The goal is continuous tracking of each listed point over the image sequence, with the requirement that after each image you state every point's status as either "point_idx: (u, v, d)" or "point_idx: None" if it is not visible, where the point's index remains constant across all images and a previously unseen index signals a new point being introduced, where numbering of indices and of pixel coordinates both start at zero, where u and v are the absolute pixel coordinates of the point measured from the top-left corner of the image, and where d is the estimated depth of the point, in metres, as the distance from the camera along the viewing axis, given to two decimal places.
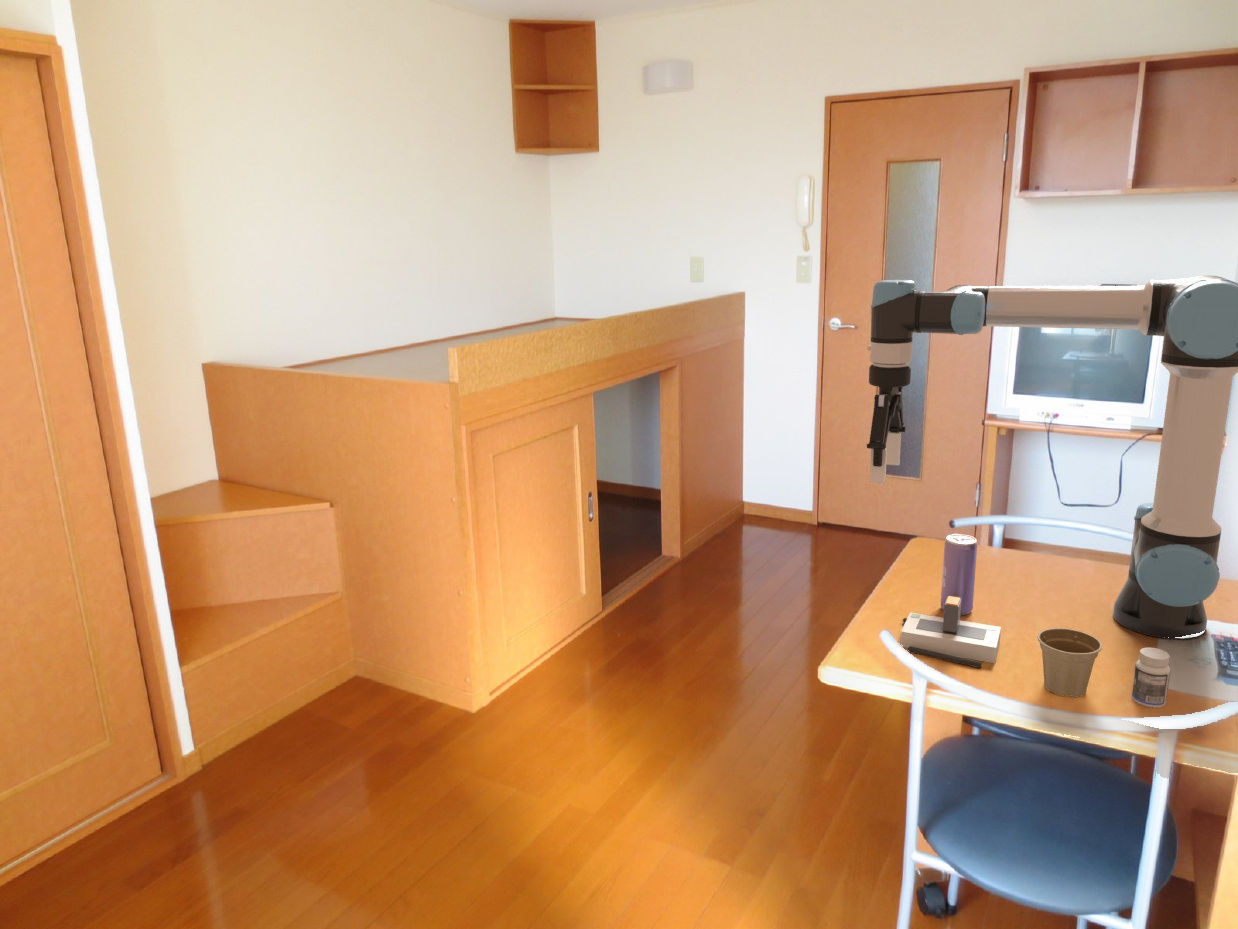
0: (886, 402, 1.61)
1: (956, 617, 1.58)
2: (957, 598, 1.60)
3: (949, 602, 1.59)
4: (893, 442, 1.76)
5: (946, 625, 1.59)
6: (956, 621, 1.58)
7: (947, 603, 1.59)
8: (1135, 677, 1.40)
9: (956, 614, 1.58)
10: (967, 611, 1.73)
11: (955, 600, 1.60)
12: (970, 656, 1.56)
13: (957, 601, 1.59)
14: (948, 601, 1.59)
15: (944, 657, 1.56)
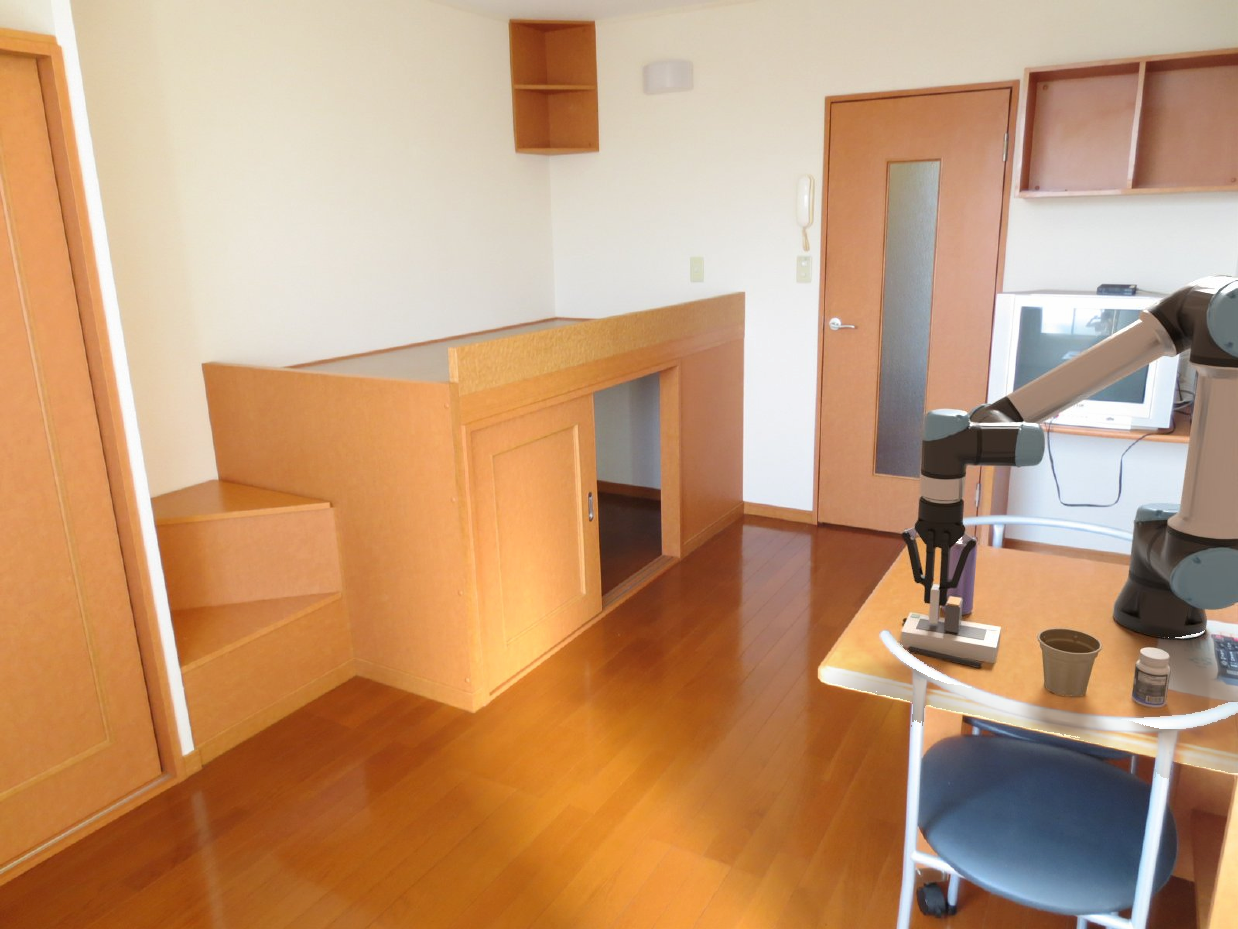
0: (904, 539, 1.60)
1: (957, 617, 1.58)
2: (958, 598, 1.60)
3: (950, 602, 1.59)
4: None
5: (947, 625, 1.59)
6: (957, 621, 1.58)
7: (948, 603, 1.58)
8: (1135, 677, 1.40)
9: (957, 614, 1.58)
10: (967, 611, 1.73)
11: (956, 600, 1.60)
12: (970, 656, 1.56)
13: (958, 601, 1.59)
14: (949, 601, 1.59)
15: (944, 657, 1.56)
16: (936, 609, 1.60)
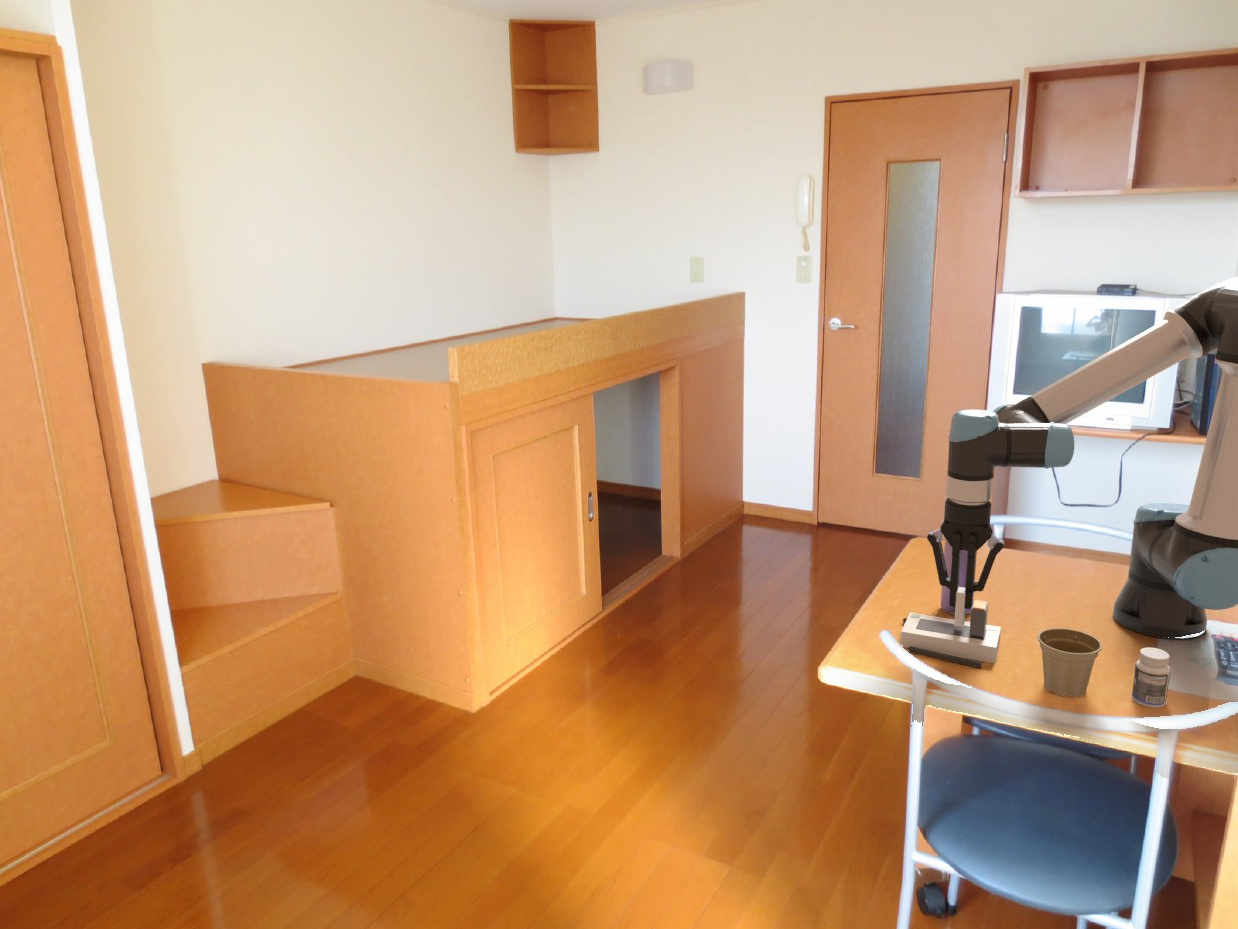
0: (929, 541, 1.58)
1: (983, 621, 1.56)
2: (984, 602, 1.58)
3: (976, 606, 1.57)
4: None
5: (973, 629, 1.57)
6: (983, 625, 1.56)
7: (974, 607, 1.57)
8: (1135, 677, 1.40)
9: (983, 618, 1.56)
10: (967, 611, 1.73)
11: (982, 604, 1.58)
12: (970, 656, 1.56)
13: (984, 605, 1.57)
14: (975, 605, 1.57)
15: (944, 657, 1.56)
16: (962, 612, 1.58)
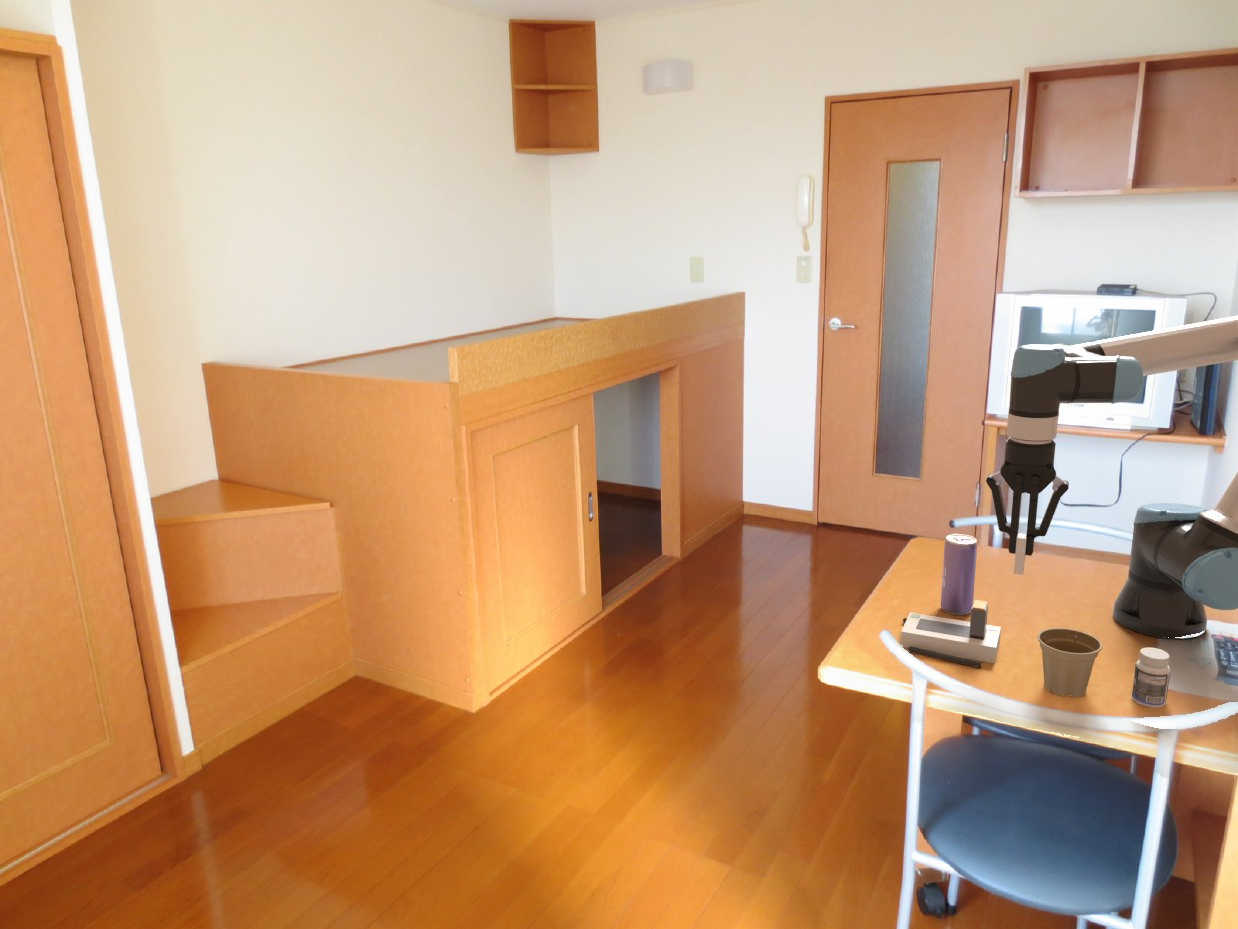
0: (988, 485, 1.51)
1: (983, 621, 1.56)
2: (984, 602, 1.58)
3: (976, 606, 1.57)
4: None
5: (973, 629, 1.57)
6: (983, 625, 1.56)
7: (974, 607, 1.57)
8: (1135, 677, 1.40)
9: (983, 618, 1.56)
10: (967, 611, 1.73)
11: (982, 604, 1.58)
12: (970, 656, 1.56)
13: (984, 605, 1.57)
14: (975, 605, 1.57)
15: (944, 657, 1.56)
16: (1022, 559, 1.51)
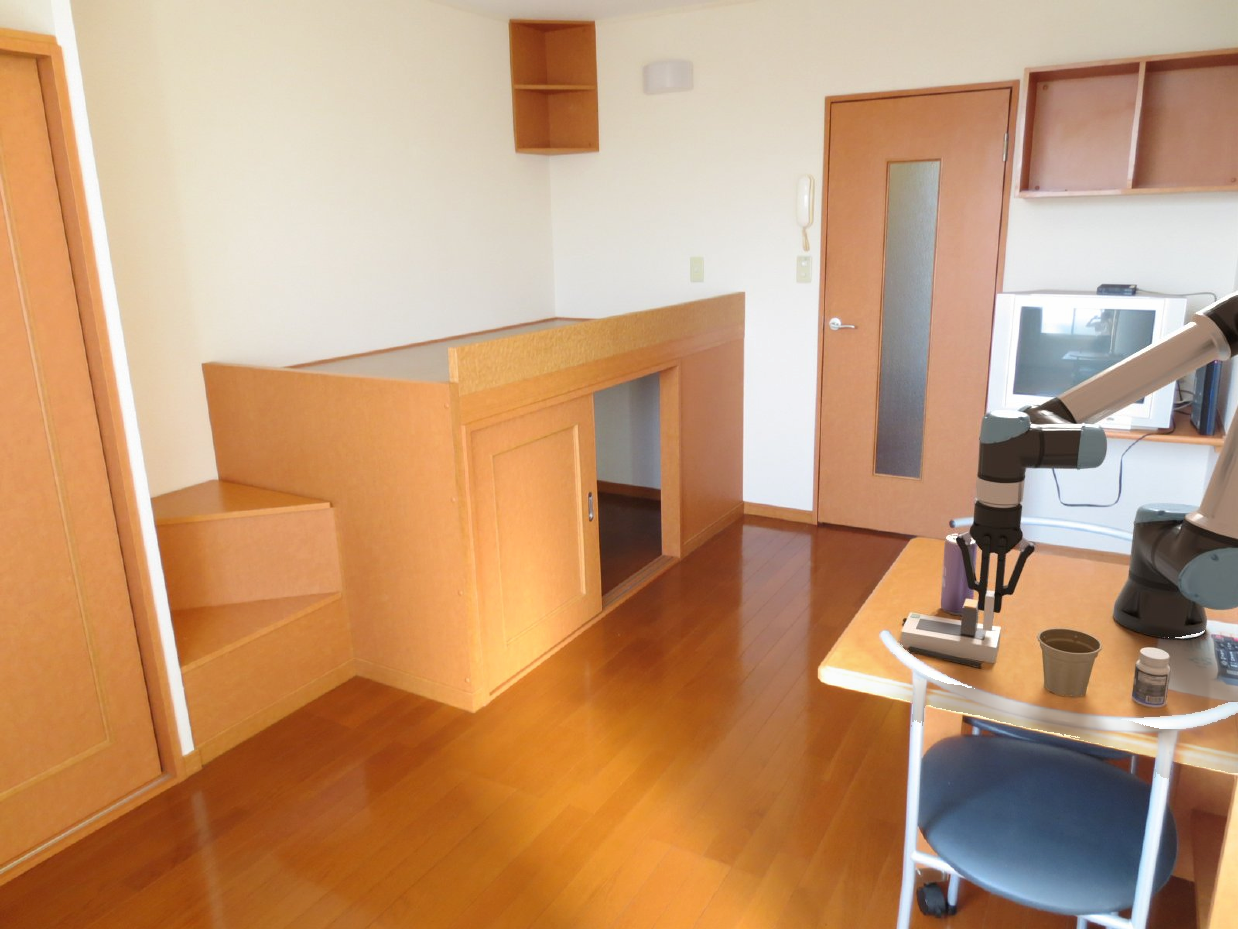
0: (958, 544, 1.56)
1: (974, 620, 1.57)
2: (975, 601, 1.59)
3: (967, 605, 1.57)
4: None
5: (964, 628, 1.58)
6: (974, 624, 1.57)
7: (965, 606, 1.57)
8: (1135, 677, 1.40)
9: (974, 617, 1.57)
10: None
11: (973, 602, 1.58)
12: (970, 656, 1.56)
13: (975, 604, 1.58)
14: (966, 604, 1.58)
15: (944, 657, 1.56)
16: (990, 616, 1.56)
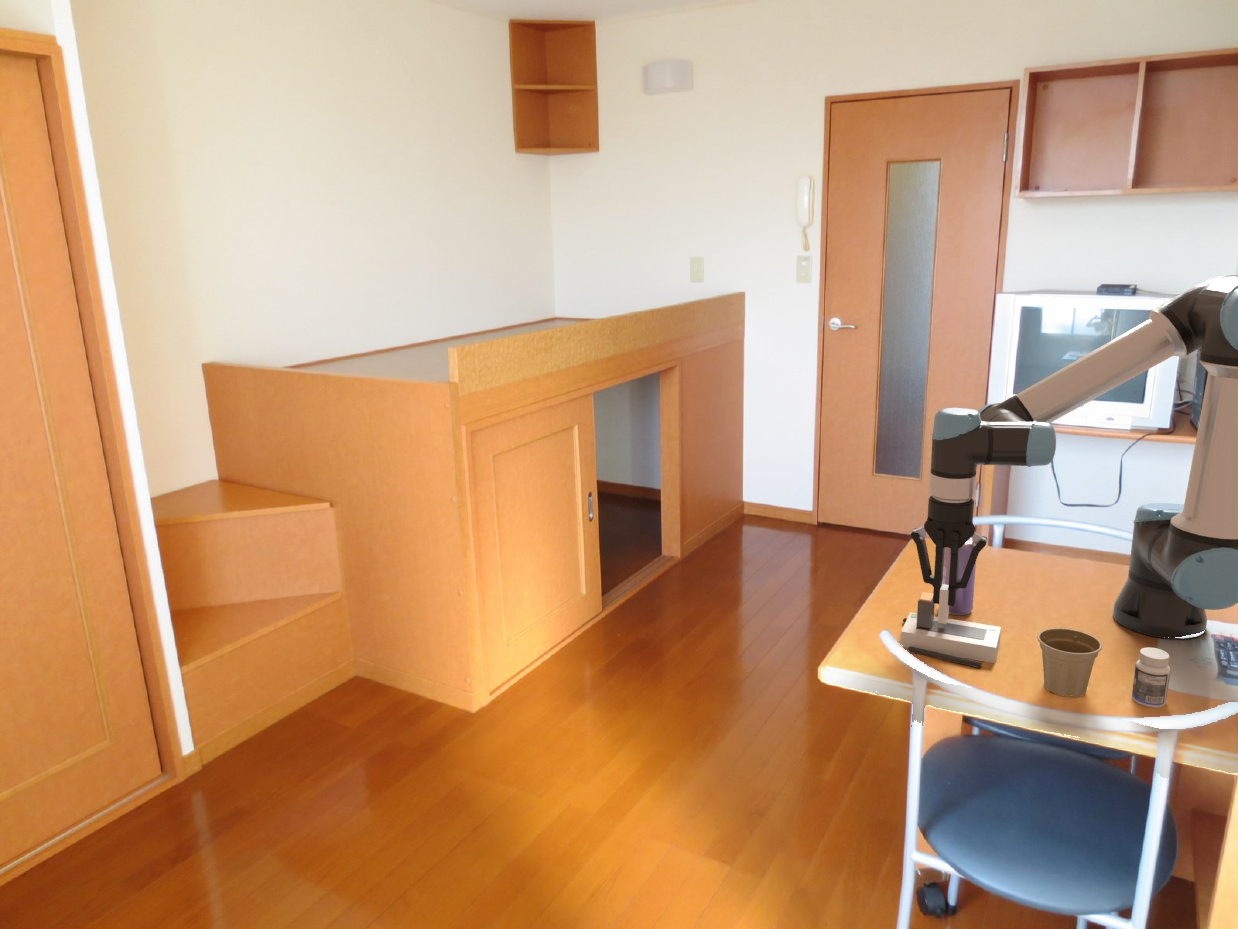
0: (913, 539, 1.59)
1: (929, 613, 1.60)
2: (931, 594, 1.62)
3: (923, 598, 1.61)
4: None
5: (920, 620, 1.61)
6: (929, 617, 1.60)
7: (921, 599, 1.61)
8: (1135, 677, 1.40)
9: (929, 610, 1.60)
10: (967, 611, 1.73)
11: (929, 596, 1.62)
12: (970, 656, 1.56)
13: (930, 597, 1.61)
14: (922, 597, 1.61)
15: (944, 657, 1.56)
16: (945, 609, 1.59)
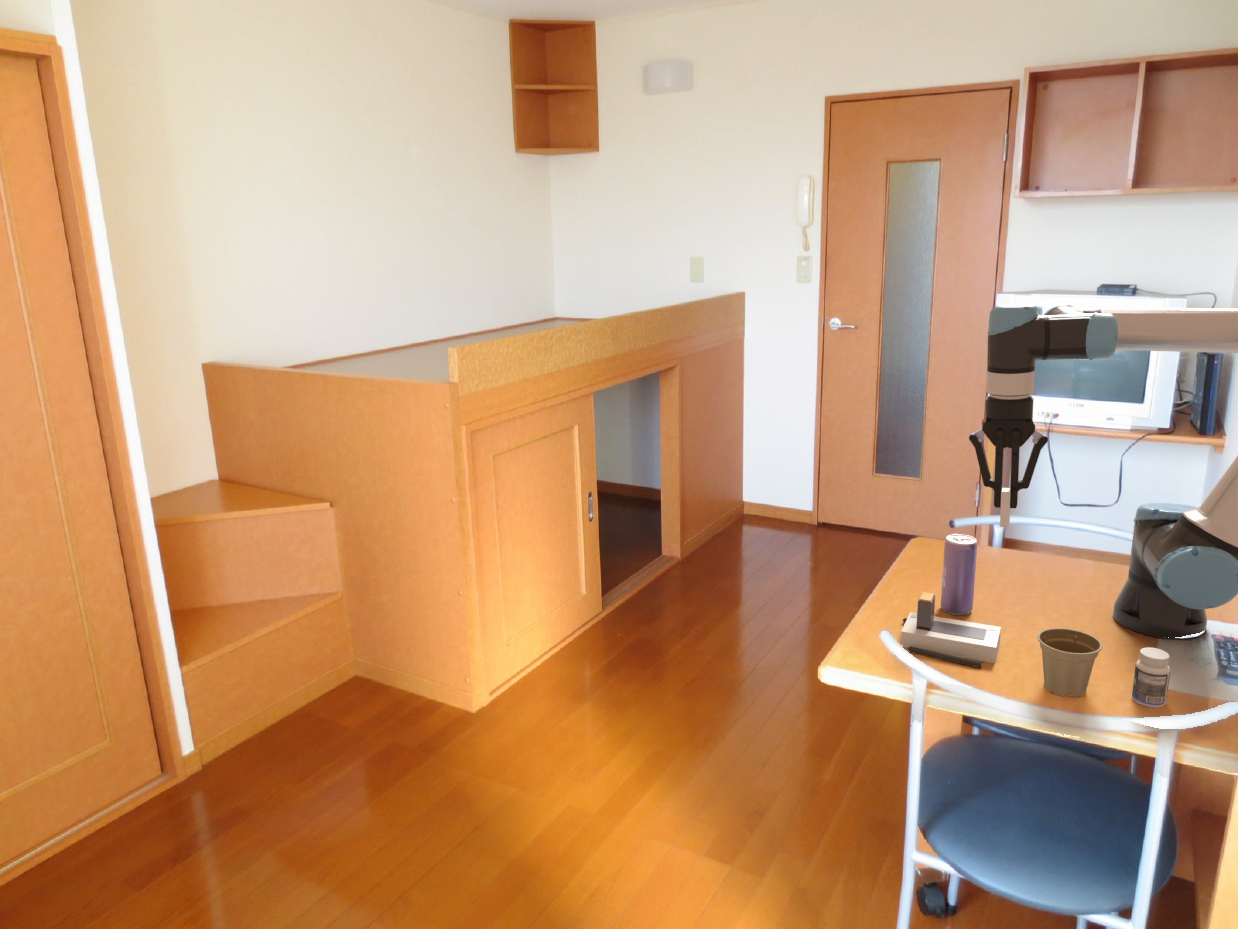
0: (971, 442, 1.57)
1: (929, 613, 1.60)
2: (931, 594, 1.62)
3: (923, 598, 1.61)
4: None
5: (920, 620, 1.61)
6: (929, 617, 1.60)
7: (921, 599, 1.61)
8: (1135, 677, 1.40)
9: (929, 610, 1.60)
10: (967, 611, 1.73)
11: (929, 596, 1.62)
12: (970, 656, 1.56)
13: (930, 597, 1.61)
14: (922, 597, 1.61)
15: (944, 657, 1.56)
16: (1007, 512, 1.57)
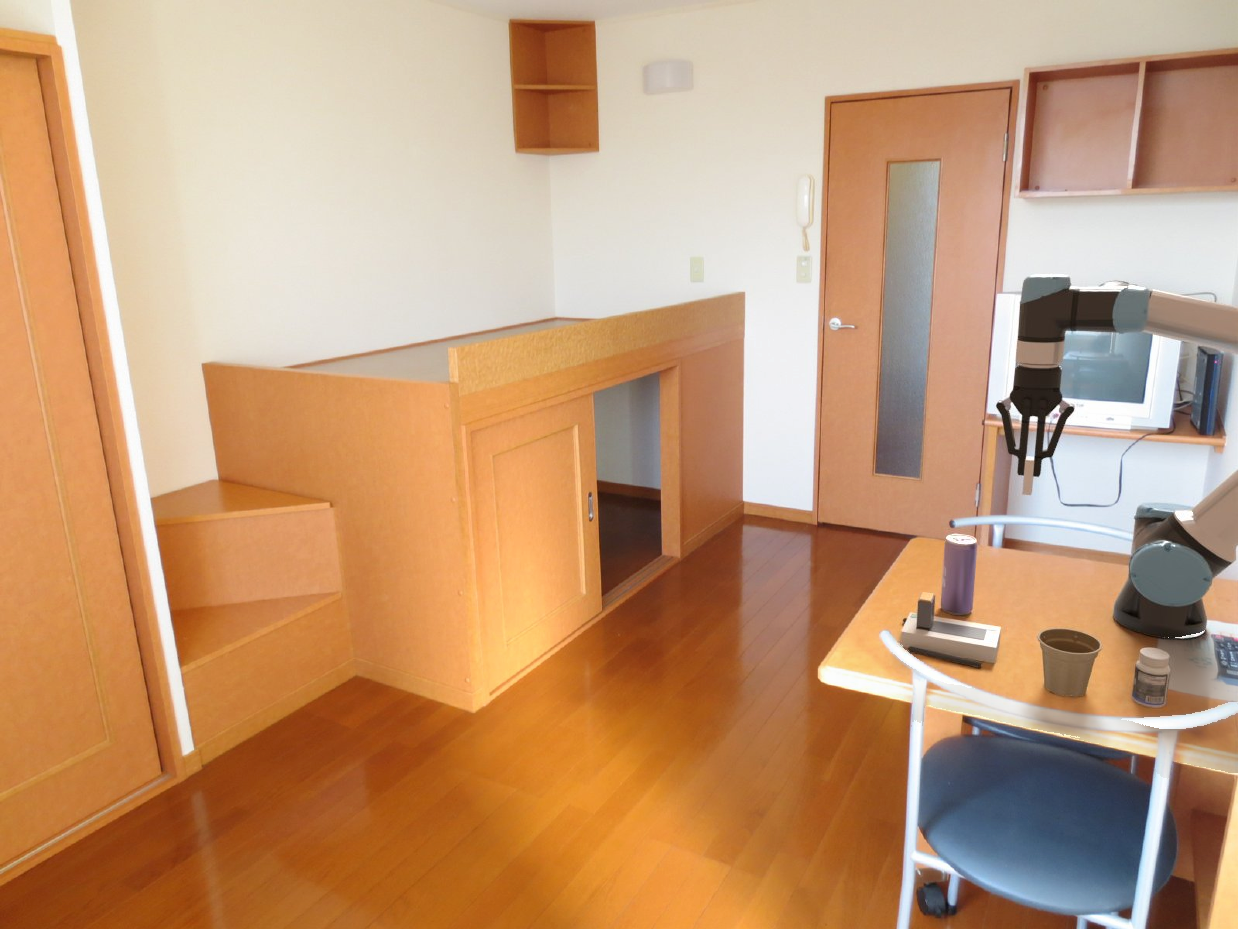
0: None
1: (929, 613, 1.60)
2: (931, 594, 1.62)
3: (923, 598, 1.61)
4: None
5: (920, 620, 1.61)
6: (929, 617, 1.60)
7: (921, 599, 1.61)
8: (1135, 677, 1.40)
9: (929, 610, 1.60)
10: (967, 611, 1.73)
11: (929, 596, 1.62)
12: (970, 656, 1.56)
13: (930, 597, 1.61)
14: (922, 597, 1.61)
15: (944, 657, 1.56)
16: (1030, 480, 1.60)
